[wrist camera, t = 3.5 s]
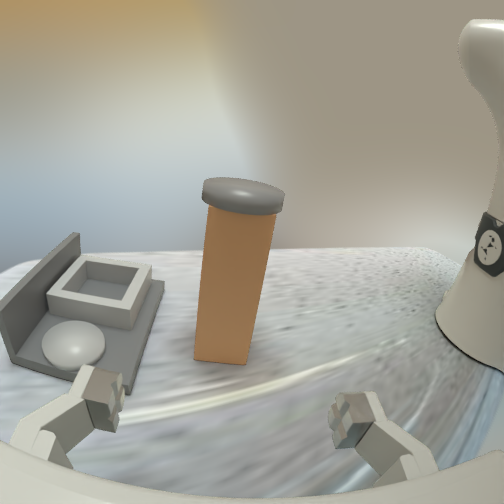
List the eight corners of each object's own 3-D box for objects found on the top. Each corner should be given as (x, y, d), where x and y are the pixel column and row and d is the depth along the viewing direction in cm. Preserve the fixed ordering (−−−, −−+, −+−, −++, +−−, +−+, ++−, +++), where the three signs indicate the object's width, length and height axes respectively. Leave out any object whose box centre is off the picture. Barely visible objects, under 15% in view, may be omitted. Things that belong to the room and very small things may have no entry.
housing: (164, 289, 31) (166, 244, 29) (129, 394, 19) (122, 340, 17) (76, 275, 30) (73, 232, 28) (11, 362, 17) (-7, 308, 15)
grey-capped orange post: (250, 329, 28) (279, 184, 23) (253, 371, 23) (291, 203, 18) (192, 323, 27) (207, 174, 22) (185, 364, 22) (199, 190, 17)
